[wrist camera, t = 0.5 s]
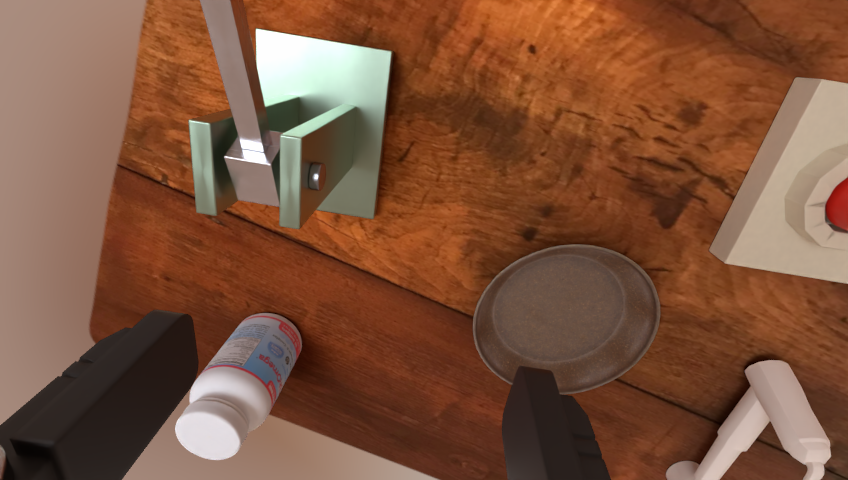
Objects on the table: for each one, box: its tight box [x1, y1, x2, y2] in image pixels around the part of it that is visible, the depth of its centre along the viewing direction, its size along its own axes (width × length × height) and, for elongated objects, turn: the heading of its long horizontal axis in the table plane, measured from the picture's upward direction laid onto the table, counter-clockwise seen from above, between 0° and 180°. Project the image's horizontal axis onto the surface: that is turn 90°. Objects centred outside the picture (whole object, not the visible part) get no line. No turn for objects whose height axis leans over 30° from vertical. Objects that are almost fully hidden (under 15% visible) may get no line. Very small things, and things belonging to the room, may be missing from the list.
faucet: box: [666, 360, 831, 480], centre depth 38 cm, size 4×18×10 cm, turn 168°
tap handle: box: [200, 0, 283, 207], centre depth 16 cm, size 13×5×2 cm, turn 171°
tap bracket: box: [188, 28, 394, 229], centre depth 24 cm, size 12×9×13 cm
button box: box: [709, 77, 848, 284], centre depth 28 cm, size 13×10×4 cm
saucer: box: [473, 244, 660, 394], centre depth 34 cm, size 15×15×3 cm
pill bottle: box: [175, 313, 302, 460], centre depth 34 cm, size 6×6×11 cm
